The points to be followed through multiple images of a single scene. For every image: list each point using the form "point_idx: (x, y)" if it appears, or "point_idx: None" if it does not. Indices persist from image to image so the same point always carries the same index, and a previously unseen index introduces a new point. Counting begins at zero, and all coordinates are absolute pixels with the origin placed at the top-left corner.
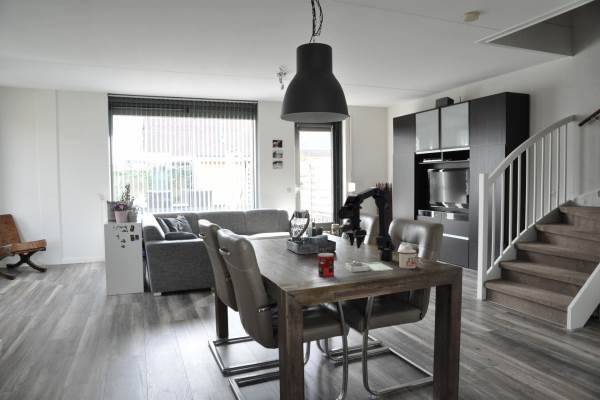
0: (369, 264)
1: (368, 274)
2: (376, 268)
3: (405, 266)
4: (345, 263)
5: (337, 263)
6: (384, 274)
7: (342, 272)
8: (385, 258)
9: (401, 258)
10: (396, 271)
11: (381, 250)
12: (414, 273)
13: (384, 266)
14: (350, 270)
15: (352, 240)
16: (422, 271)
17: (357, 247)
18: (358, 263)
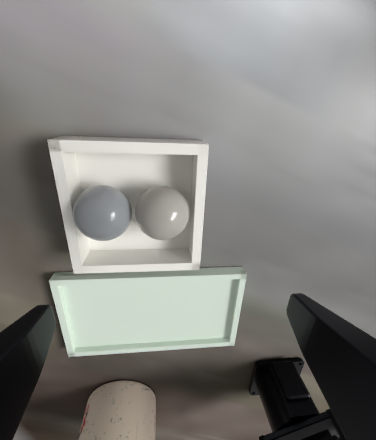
0: (226, 300)
1: (11, 223)
2: (124, 300)
3: (91, 402)
4: (207, 150)
5: (371, 157)
6: (2, 295)
7: (103, 76)
8: (266, 382)
9: (100, 437)
10: (63, 353)
11: (307, 415)
12: None
13: (156, 341)
14: (84, 137)
15: (338, 381)
16: (45, 419)
17: (26, 315)
18: (80, 216)
